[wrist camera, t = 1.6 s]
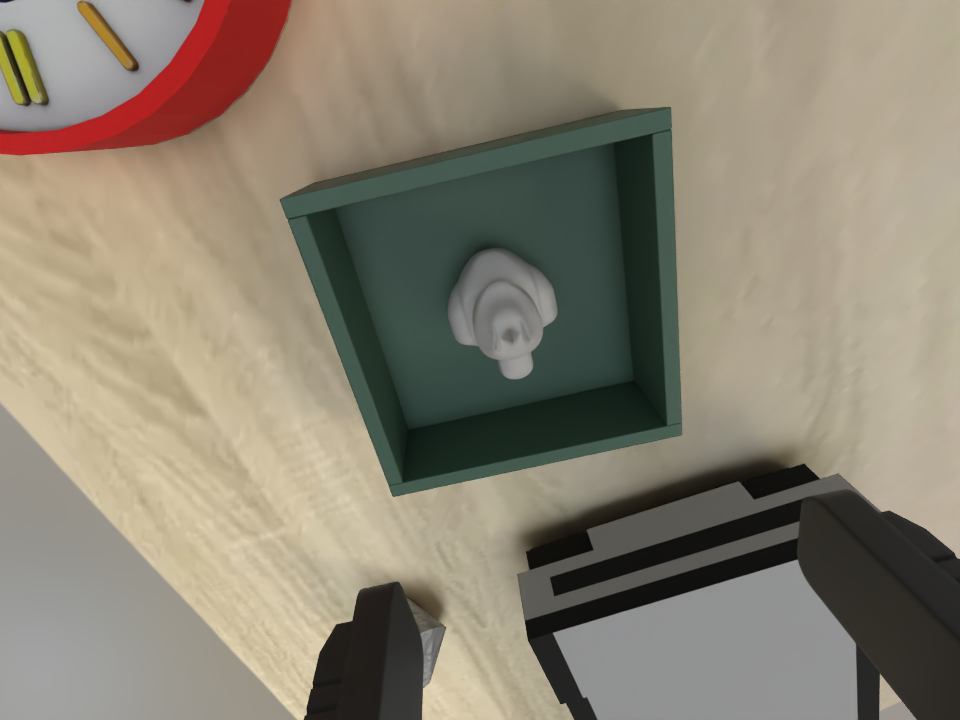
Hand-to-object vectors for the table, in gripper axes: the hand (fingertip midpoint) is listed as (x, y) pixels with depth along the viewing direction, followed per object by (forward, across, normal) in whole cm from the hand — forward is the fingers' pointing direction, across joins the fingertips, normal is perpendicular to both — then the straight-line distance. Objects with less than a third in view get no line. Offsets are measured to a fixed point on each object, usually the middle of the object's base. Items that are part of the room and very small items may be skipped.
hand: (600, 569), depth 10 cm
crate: (+19, 0, 0) cm, 19 cm away
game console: (+20, -10, +32) cm, 39 cm away
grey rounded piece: (+19, 0, 0) cm, 19 cm away
